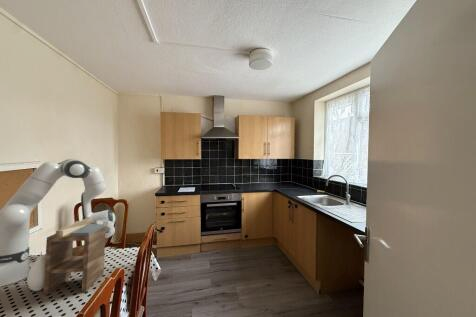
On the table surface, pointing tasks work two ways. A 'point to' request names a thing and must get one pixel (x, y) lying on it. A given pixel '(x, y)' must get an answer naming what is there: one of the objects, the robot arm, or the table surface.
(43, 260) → the sauce bottle
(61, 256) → the walnut stand
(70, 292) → the table surface
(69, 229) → the beech bar
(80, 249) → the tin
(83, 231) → the slate tile
